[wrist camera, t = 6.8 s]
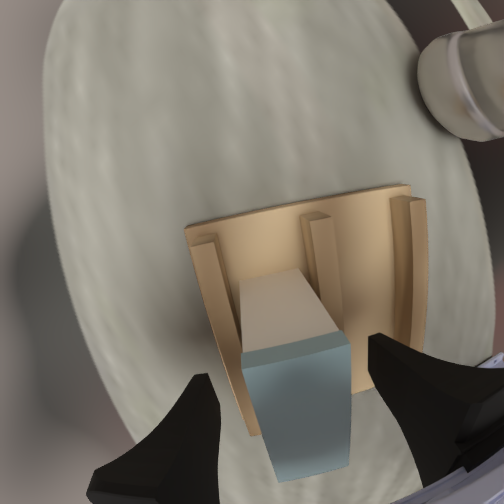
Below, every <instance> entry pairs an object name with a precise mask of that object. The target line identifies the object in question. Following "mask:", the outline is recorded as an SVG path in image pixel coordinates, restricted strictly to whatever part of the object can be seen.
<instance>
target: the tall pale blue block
mask: <svg viewBox="0 0 504 504" xmlns="http://www.w3.org/2000/svg"><path fill="white" fill-rule="evenodd" d="M239 288H240V310H241V330H242V349H243V353H241V369H242V373H243V376H244V379H245V383H246V386H247V389H248V392H249V396H250V399H251V402H252V405H253V408H254V411H255V415H256V418H257V421H258V424H259V427H260V430H261V433H262V436H263V439H264V442H265V445H266V448H267V451H268V454H269V457H270V460H271V462H272V465H273V468H274V471H275V474H276V477H277V479H278V482H279V483H280V482H285V481H290V480H295V479H300V478H305V477H309V476H313V475H317V474H321V473H325V472H329V471H332V470H336V469H339V468H343V467H346V466H348V465H349V451H350V432H351V343H350V342H349V340H348V339H347V337H346V336H345V334H344V333H343V331H342V330H339V329H338V327H337V326H336V324H335V323H334V321H333V320H332V318H331V317H330V315H329V314H328V312H327V311H326V309H325V307H324V306H323V304H322V303H321V301H320V300H319V298H318V297H317V295H316V294H315V292H314V291H313V289H312V288H311V286H310V285H309V283H308V282H307V280H306V279H305V277H304V276H303V274H302V273H301V271H300V270H299V268H296V269H292V270H287V271H283V272H278V273H274V274H269V275H264V276H260V277H255V278H250V279H246V280H241V281H239Z"/></svg>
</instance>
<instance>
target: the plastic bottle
mask: <svg viewBox="0 0 504 504" xmlns="http://www.w3.org/2000/svg"><path fill="white" fill-rule="evenodd" d="M417 79H418V85H419V90H420V93H421V95H422V98H423V100H424V102H425V104H426V106H427V108H428V109H429V111H430V112H431V114H432V115H433V117H434V118H435V119H436V120H437V121H438V122H439V123H440V124H441V125H442V126H443V127H444V128H446V129H447V130H448V131H449V132H451V133H452V134H454V135H455V136H457V137H460V138H463V139H469V140H475V141H481V142H483V141H488V140H492V139H496V138H500V137H503V136H504V20H501V21H497V22H494V23H490V24H487V25H483V26H480V27H477V28H474V29H471V30H468V31H460V32H454V33H450V34H447V35H443V36H441V37H438V38H436V39H434V40H433V41H432V42H431V43H430V44H429V45H428V46H427V47H426V48H425V49H424V50H423V52H422V53H421V55H420V57H419V60H418V70H417Z"/></svg>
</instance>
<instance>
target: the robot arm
mask: <svg viewBox="0 0 504 504" xmlns="http://www.w3.org/2000/svg"><path fill="white" fill-rule="evenodd" d="M503 355H504V354H503V353H502V352H500V353H498V354H497V355H495V356H494V357H492V358H491V359H489V360H488V361H486V362H484V363H483V364H481V365H480V366H478V367H471V366H465V365H459V364H455V363H450V362H447V361H443V360H440V359H437V358H434V357H431V356H429V355H426V354H424V353H421V352H419V351H417V350H415V349H412V348H410V347H408V346H406V345H404V344H402V343H400V342H398V341H396V340H394V339H392V338H390V337H388V336H386V335H384V334H382V333H380V332H379V333H376V334H373V335H370V336H368V372H369V375H370V377H371V379H372V381H373V383H374V385H375V387H376V389H377V391H378V392H379V394H380V395H381V397H382V398H383V400H384V401H385V403H386V405H387V406H388V408H389V409H390V411H391V412H392V414H393V415H394V417H395V418H396V420H397V422H398V424H399V425H400V427H401V429H402V432H403V434H404V436H405V438H406V440H407V443H408V445H409V448H410V450H411V452H412V455H413V457H414V460H415V463H416V466H417V469H418V472H419V475H420V478H421V481H422V485H423V489H421V490H419V491H417V492H415V493H413V494H411V495H409V496H406V497H404V498H402V499H400V500H397V501H395V502H393V503H390V504H504V362H503V361H502V358H503ZM220 430H221V412H220V403H219V401H218V398H217V396H216V393H215V391H214V388H213V386H212V383H211V381H210V378H209V375H208V373H204V374H196V375H194V376H193V377H192V379H191V380H190V382H189V384H188V385H187V387H186V388H185V390H184V391H183V393H182V394H181V396H180V397H179V399H178V400H177V402H176V403H175V404H174V406H173V407H172V409H171V410H170V411H169V412H168V414H167V415H166V416H165V418H164V419H163V420H162V421H161V422H160V423H159V425H158V426H157V427H156V428H155V429H154V430H153V431H152V432H151V433H150V434H149V435H148V436H147V437H145V438H144V439H143V440H142V441H141V442H139V443H138V444H137V445H136V446H135V447H133V448H132V449H131V450H129V451H128V452H126V453H125V454H123V455H122V456H120V457H119V458H117V459H115V460H114V461H112V462H110V463H108V464H106V465H104V466H102V467H100V468H98V469H96V470H95V471H94V473H93V476H92V478H91V481H90V484H89V487H88V489H87V492H86V496H87V497H88V499H89V501H90V502H92V503H93V504H220V501H219V488H218V454H219V442H220Z"/></svg>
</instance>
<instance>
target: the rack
mask: <svg viewBox="0 0 504 504" xmlns="http://www.w3.org/2000/svg"><path fill="white" fill-rule="evenodd" d="M184 232H185V236H186V240H187V244H188V247H189V251H190V255H191V259H192V262H193V266H194V270H195V273H196V277H197V280H198V284H199V287H200V291H201V294H202V298H203V301H204V305H205V308H206V311H207V315H208V318H209V321H210V324H211V328H212V331H213V334H214V337H215V340H216V343H217V347H218V350H219V353H220V356H221V359H222V362H223V365H224V368H225V371H226V374H227V377H228V379H229V382H230V385H231V388H232V391H233V394H234V397H235V399H236V402H237V405H238V408H239V410H240V413H241V416H242V418H243V420H245V423H246V426H247V429H248V431H249V434H250V436H255V435H261V434H262V433H261V430H260V427H259V424H258V421H257V418H256V415H255V411H254V408H253V405H252V402H251V399H250V396H249V392H248V389H247V386H246V383H245V379H244V376H243V373H242V369H241V353H243V349H242V330H241V310H240V288H239V281H241V280H246V279H250V278H255V277H260V276H264V275H269V274H274V273H278V272H283V271H287V270H292V269H296V268H299V270H300V271H301V273H302V274H303V276H304V277H305V279H306V280H307V282H308V283H309V285H310V286H311V288H312V289H313V291H314V292H315V294H316V295H317V297H318V298H319V300H320V301H321V303H322V304H323V306H324V307H325V309H326V311H327V312H328V314H329V315H330V317H331V318H332V320H333V321H334V323H335V324H336V326H337V327H338V329H339V330H342V331H343V333H344V334H345V336H346V337H347V339H348V340H349V342H350V343H351V395H352V394H355V393H358V392H361V391H364V390H367V389H370V388H373V387H375V385H374V383H373V381H372V379H371V377H370V375H369V372H368V336H370V335H373V334H376V333H379V332H380V333H382V334H384V335H386V336H388V337H390V338H392V339H394V340H396V341H398V342H400V343H402V344H404V345H406V346H408V347H410V348H412V349H415V350H417V351H419V352H421V353H422V350H423V342H424V333H425V323H426V311H427V294H428V230H427V213H426V201H425V199H422V198H417V197H411V188H410V185H405V184H398V185H392V186H385V187H379V188H373V189H367V190H361V191H355V192H349V193H344V194H338V195H333V196H327V197H322V198H316V199H311V200H306V201H301V202H295V203H290V204H285V205H280V206H275V207H271V208H266V209H261V210H256V211H251V212H247V213H242V214H237V215H233V216H228V217H224V218H219V219H215V220H210V221H206V222H202V223H197V224H193V225H189V226H187V227H186V228H185V229H184Z"/></svg>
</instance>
